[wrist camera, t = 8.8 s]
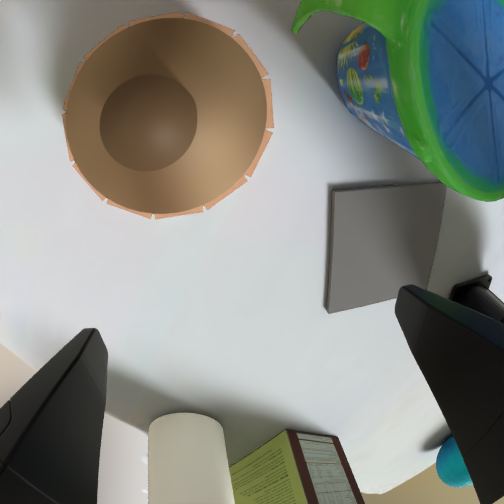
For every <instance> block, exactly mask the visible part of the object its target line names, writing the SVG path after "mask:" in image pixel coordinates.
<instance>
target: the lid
mask: <svg viewBox="0 0 504 504" xmlns="http://www.w3.org/2000/svg"><path fill="white" fill-rule="evenodd" d="M266 119H267V101H266V94H265V89H264V86H263V82H262V79H261V76H260V74H259V72H258V70H257V67H256V66H255V64H254V62H253V61H252V59H251V58H250V56H249V55H248V54H247V52H246V51H245V50H244V49H243V48H242V47H241V46H240V45H239V44H238V43H237V42H236V41H235V40H234V39H232V38H231V37H230V36H228V35H227V34H225V33H224V32H222V31H221V30H219V29H217V28H215V27H213V26H210V25H208V24H205V23H202V22H199V21H195V20H190V19H183V18H161V19H153V20H149V21H145V22H141V23H138V24H135V25H133V26H130V27H128V28H126V29H124V30H122V31H120V32H118V33H117V34H115V35H113V36H112V37H111V38H109V39H108V40H107V41H105V42H104V43H103V44H102V45H101V46H99V47H98V48H97V49H96V50H95V51H94V52H93V53H92V55H91V56H90V57H89V58H88V60H87V61H86V62H85V63H84V65H83V67H82V68H81V70H80V71H79V73H78V75H77V77H76V79H75V81H74V84H73V86H72V89H71V92H70V95H69V99H68V104H67V110H66V132H67V139H68V143H69V147H70V151H71V153H72V156H73V158H74V161H75V163H76V164H77V166H78V168H79V170H80V172H81V173H82V174H83V176H84V177H85V178H86V180H87V181H88V182H89V183H90V184H91V185H92V186H93V187H94V188H95V189H96V190H97V191H98V192H99V193H101V194H102V195H103V196H105V197H106V198H108V199H109V200H111V201H113V202H114V203H116V204H118V205H121V206H123V207H126V208H128V209H132V210H135V211H139V212H145V213H151V214H168V213H178V212H182V211H187V210H191V209H193V208H196V207H199V206H202V205H204V204H206V203H208V202H210V201H212V200H214V199H215V198H217V197H219V196H220V195H222V194H223V193H225V192H226V191H227V190H228V189H229V188H231V187H232V186H233V185H234V184H235V183H236V182H237V181H238V180H239V179H240V178H241V177H242V176H243V174H244V173H245V172H246V170H247V169H248V168H249V166H250V165H251V163H252V161H253V160H254V158H255V156H256V154H257V152H258V150H259V147H260V145H261V143H262V139H263V135H264V132H265V127H266Z"/></svg>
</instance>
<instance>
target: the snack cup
mask: <svg viewBox="0 0 504 504" xmlns="http://www.w3.org/2000/svg"><path fill="white" fill-rule="evenodd" d="M318 11H331V12H334V13H337V14H341V15H344V16H348V17H353V18H355V19H358V20H361V21H364V23H363V24H361V25H360V26H358V27H357V28H355V29H354V30H353V31H352V32H351V33H350V34H349V35H348V36H347V38H346V39H345V41H344V42H343V44H342V45H341V47H340V49H339V52H338V55H337V79H338V84H339V89H340V91H341V93H342V95H343V98H344V100H345V105H346V107H347V108H348V109H349V110H350V112H351V113H352V114H354V115H355V116H356V117H357V118H358V119H359V120H361V121H362V122H363V123H364V124H366V125H367V126H369V127H370V128H371V129H373V130H374V131H376V132H378V133H379V134H381V135H383V136H384V137H386V138H387V139H389V140H391V141H392V142H394V143H395V144H397V145H398V146H400V147H402V148H403V149H405V150H406V151H408V152H409V153H411V154H412V155H414V156H415V157H417V158H418V159H420V160H421V161H422V162H423V163H424V165H425V166H426V167H427V169H429V170H430V171H431V172H432V173H433V174H434V175H435V176H436V177H437V178H438V179H439V180H440V181H441V182H442V183H444V184H445V185H446V186H448V187H449V188H451V189H453V190H455V191H457V192H459V193H461V194H463V195H466V196H468V197H471V198H473V199H476V200H481V201H486V202H490V201H497V200H499V199H502V198H504V0H302V1H301V3H300V6H299V8H298V10H297V13H296V16H295V19H294V22H293V25H292V30H291V31H292V32H293V33H295V34H296V33H298V31H299V30H300V28H301V27H302V25H303V24H304V23H305V22H306V21H307V20H308V19H309V18H310V17H311V15H312V14H313V13H316V12H318Z"/></svg>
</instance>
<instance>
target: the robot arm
mask: <svg viewBox="0 0 504 504" xmlns="http://www.w3.org/2000/svg"><path fill="white" fill-rule="evenodd" d="M491 280H492V277H491V276H490V275H486V276H483V277H480V278H477V279H474V280H471V281H468V282H465V283H461V284H458V285H456V286H455V287H454V288H453V290H452V293H451V296H450V299H446V298H444V297H442V296H439V295H437V294H435V293H432V292H430V291H427V290H425V289H423V288H420V287H418V286H416V285H413V284H409V285H404V286H401V287H400V289H399V291H398V296H397V300H396V305H395V314H396V317H397V319H398V322H399V324H400V326H401V329H402V331H403V333H404V336H405V338H406V340H407V343H408V345H409V348H410V350H411V352H412V354H413V356H414V358H415V360H416V362H417V364H418V366H419V368H420V369H421V371H422V373H423V375H424V377H425V379H426V381H427V383H428V385H429V387H430V389H431V391H432V393H433V395H434V397H435V399H436V401H437V403H438V405H439V407H440V409H441V411H442V413H443V415H444V418H445V420H446V422H447V424H448V426H449V428H450V430H451V433H452V435H453V437H454V439H455V442H456V444H457V446H458V448H459V451H460V453H461V455H462V457H463V461H464V463H465V465H466V468H467V470H468V473H469V475H470V478H471V480H472V483H473V485H474V488H475V490H476V493H477V496H478V499H479V501H480V504H493V503H494V502H495V501H497V500H499V499H500V498H502V497H503V496H504V303H503V302H502V301H501V300H500V299H499V298H498V297H497V296H496V295H495V294H494V293H493V292H491V291H490V290H489V286H490V283H491ZM107 363H108V352H107V348H106V346H105V344H104V342H103V339H102V337H101V335H100V333H99V331H98V329H96V328H85V329H83V330H82V331H81V332H79V333H78V334H77V335H76V336H75V337H74V338H73V339H72V340H71V341H70V342H69V343H68V344H66V345H65V346H64V347H63V348H62V349H61V350H60V351H59V352H58V353H57V354H56V355H55V356H54V357H53V358H51V359H50V360H49V361H48V362H47V363H46V364H45V365H44V366H43V367H42V368H41V369H40V370H39V371H38V372H37V373H36V374H35V375H34V376H33V377H32V378H31V379H30V380H29V381H28V382H26V384H24V385H23V386H22V388H20V390H18V391H17V392H16V393H15V395H13V396H12V397H11V398H10V400H8V401H7V402H6V403H5V404H4V405H3V406H2V407H1V408H0V504H97V489H98V472H99V471H98V470H99V458H100V447H101V436H102V428H103V419H104V411H105V403H106V384H107Z"/></svg>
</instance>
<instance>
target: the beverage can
mask: <svg viewBox="0 0 504 504" xmlns="http://www.w3.org/2000/svg"><path fill="white" fill-rule="evenodd" d="M148 504H235V501H234V495H233V490H232V484H231V478H230V472H229V465H228V459H227V452H226V446H225V439H224V432H223V428H222V426H221V425H220V423H218V422H217V421H216V420H214V419H212V418H210V417H208V416H205V415H201V414H195V413H173V414H168V415H164V416H161V417H159V418H157V419H155V420H154V421H153V422H152V423H151V424H150V426H149V435H148Z"/></svg>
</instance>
